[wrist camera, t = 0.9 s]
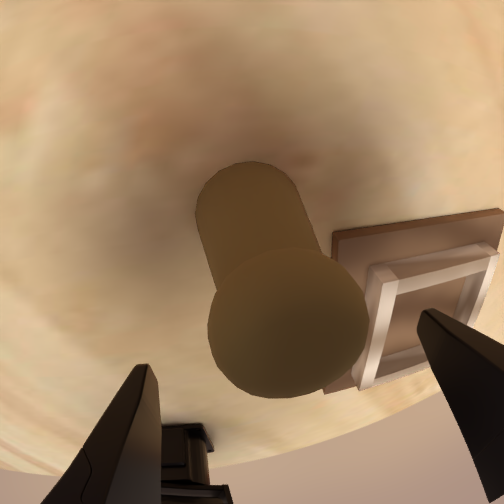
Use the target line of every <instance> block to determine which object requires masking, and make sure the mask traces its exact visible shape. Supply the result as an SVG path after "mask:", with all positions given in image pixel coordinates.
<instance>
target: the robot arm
mask: <svg viewBox="0 0 504 504" xmlns="http://www.w3.org/2000/svg"><path fill="white" fill-rule="evenodd" d="M416 330H417V335H418V337H419V340H420V342H421V344H422V347H423V349H424V352H425V354H426V357H427V360H428V362H429V365H430V367H431V369H432V371H433V373H434V375H435V377H436V379H437V381H438V383H439V385H440V387H441V389H442V391H443V394H444V396H445V397H446V400H447V402H448V404H449V406H450V408H451V410H452V412H453V414H454V417H455V419H456V421H457V423H458V426H459V428H460V430H461V433H462V435H463V437H464V439H465V442H466V444H467V446H468V448H469V451H470V453H471V456H472V459H473V461H474V464H475V467H476V469H477V472H478V474H479V477H480V480H481V482H482V485H483V487H484V490H485V493H486V496H487V498H488V501H489V503H491V502H493V501H494V500H496V499H498V498H499V497H500V496H502V495H504V345H503V344H501V343H499V342H497V341H495V340H493V339H492V338H490V337H488V336H486V335H484V334H482V333H480V332H479V331H477V330H475V329H473V328H471V327H469V326H467V325H465V324H463V323H462V322H460V321H458V320H456V319H454V318H452V317H450V316H448V315H446V314H444V313H442V312H441V311H439V310H437V309H435V308H428V309H425V310H423V311H422V312H421V314H420V317H419V321H418V324H417V328H416ZM210 452H214V447H213V445H212V443H211V441H210V438H209V436H208V434H207V432H206V430H205V428H204V426H203V425H201V424H195V425H184V426H172V427H161V416H160V403H159V389H158V382H157V379H156V377H155V375H154V373H153V371H152V369H151V367H150V365H149V364H138V365H136V366H135V367H134V368H133V370H132V371H131V373H130V374H129V376H128V377H127V379H126V380H125V382H124V383H123V385H122V386H121V388H120V389H119V391H118V392H117V394H116V395H115V397H114V398H113V400H112V401H111V403H110V404H109V406H108V407H107V409H106V411H105V412H104V414H103V415H102V417H101V418H100V420H99V421H98V423H97V424H96V426H95V428H94V429H93V431H92V432H91V434H90V435H89V437H88V439H87V440H86V442H85V443H84V445H83V448H81V449H80V451H79V453H78V454H77V456H76V457H75V459H74V460H73V462H72V463H71V465H70V466H69V468H68V469H67V470H66V472H65V473H64V474H63V476H62V477H61V478H60V480H59V481H58V482H57V484H56V485H55V486H54V487H53V489H52V490H51V491H50V492H49V494H48V495H47V496H46V498H45V499H44V500H43V501H42V502H41V504H233V500H232V497H231V494H230V490H229V486H228V485H210V479H209V469H208V458H207V453H210Z"/></svg>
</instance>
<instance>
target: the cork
mask: <svg viewBox="0 0 504 504" xmlns="http://www.w3.org/2000/svg"><path fill="white" fill-rule="evenodd" d="M195 216H196V221H197V227H198V231H199V234H200V238H201V241H202V244H203V247H204V251H205V254H206V257H207V260H208V264H209V267H210V270H211V273H212V276H213V279H214V283H215V286H216V289H217V292H216V293H215V296H214V299H213V302H212V305H211V309H210V314H209V319H208V324H207V325H208V340H209V343H210V347H211V351H212V355H213V357H214V360H215V362H216V364H217V367H218V368H219V369H220V370H221V371H222V373H223V374H224V375H225V376H226V377H227V378H228V379H229V380H230V381H231V382H232V383H233V384H234V385H235V386H236V387H237V388H239V389H241V390H243V391H245V392H247V393H249V394H251V395H254V396H259V397H264V398H292V397H297V396H302V395H307V394H310V393H312V392H315V391H317V390H320V389H322V388H324V387H326V386H328V385H329V384H331V383H332V382H334V381H335V380H337V379H339V378H340V377H342V376H343V375H344V374H345V373H346V372H347V371H348V370H349V369H350V368H351V367H352V366H353V365H354V364H355V363H356V362H357V360H358V358H359V357H360V355H361V353H362V352H363V350H364V348H365V344H366V339H367V335H368V329H369V323H370V319H369V314H368V310H367V305H366V301H365V298H364V294H363V291H362V290H361V288H360V287H359V285H358V284H357V283H356V281H355V280H354V279H353V277H352V276H351V275H350V274H349V273H348V271H347V270H346V269H345V268H344V266H342V265H341V264H339V263H338V262H336V261H335V260H333V259H331V258H329V257H327V256H325V255H323V254H322V252H321V249H320V247H319V244H318V241H317V239H316V236H315V234H314V231H313V228H312V226H311V223H310V221H309V218H308V216H307V213H306V211H305V208H304V206H303V203H302V201H301V198H300V196H299V193H298V191H297V189H296V186H295V184H294V183H293V182H292V181H291V180H290V179H289V177H288V176H287V175H286V174H285V173H284V172H282V171H280V170H278V169H277V168H275V167H273V166H271V165H269V164H264V163H258V162H245V163H237V164H234V165H231V166H229V167H227V168H225V169H223V170H221V171H219V172H218V173H217V174H215V175H214V176H213V177H212V178H211V179H210V180H209V181H208V182H207V183H206V184H205V186H204V188H203V190H202V191H201V193H200V195H199V197H198V200H197V206H196V212H195Z"/></svg>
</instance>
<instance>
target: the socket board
mask: <svg viewBox="0 0 504 504" xmlns="http://www.w3.org/2000/svg"><path fill="white" fill-rule="evenodd" d="M503 226H504V211H502V210H501V209H499V208H497V209H490V210H483V211H476V212H469V213H462V214H455V215H448V216H441V217H434V218H428V219H421V220H414V221H407V222H400V223H393V224H387V225H380V226H373V227H367V228H360V229H353V230H347V231H340V232H333V238H332V259H333V260H335V261H336V262H338V263H339V264H341V265H342V266H344V268H345V269H346V270H347V271H348V273H349V274H350V275H351V276H352V277H353V279H354V280H355V281H356V283H357V284H358V285H359V287H360V288H361V290H362V291H363V294H364V298H365V301H366V305H367V310H368V314H369V319H370V323H369V329H368V335H367V339H366V344H365V348H364V350H363V352H362V353H361V355H360V357H359V358H358V360H357V362H356V363H355V364H354V365H353V366H352V367H351V368H350V369H349V370H348V371H347V372H346V373H345V374H344V375H343V376H342V377H340V378H339V379H337V380H335V381H334V382H332V383H331V384H329V385H328V386H326V387H324V388H322V389H323V392H324V395H325V394H329V393H333V392H337V391H340V390H344V389H348V388H351V387H355V386H357V388H358V390H359V391H361V390H365V389H368V388H371V387H375V386H378V385H381V384H384V383H387V382H390V381H393V380H396V379H399V378H402V377H405V376H407V375H410V374H413V373H416V372H418V371H421V370H424V369H426V368H429V367H430V365H429V362H428V360H427V357H426V354H425V352H424V349H423V347H422V344H421V342H420V340H419V337H418V335H417V330H416V328H417V324H418V321H419V317H420V314H421V312H422V311H423V310H425V309H428V308H435V309H437V310H439V311H441V312H442V313H444V314H446V315H448V316H450V317H452V318H454V319H456V320H458V321H460V322H462V323H463V324H465V325H467V326H469V327H471V328H473V326H474V324H475V322H476V319H477V317H478V315H479V312H480V310H481V307H482V305H483V302H484V299H485V297H486V294H487V291H488V289H489V286H490V283H491V280H492V277H493V274H494V271H495V268H496V265H497V262H498V259H499V255H500V253H498V252H497V248H498V245H499V241H500V237H501V233H502V230H503Z"/></svg>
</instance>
